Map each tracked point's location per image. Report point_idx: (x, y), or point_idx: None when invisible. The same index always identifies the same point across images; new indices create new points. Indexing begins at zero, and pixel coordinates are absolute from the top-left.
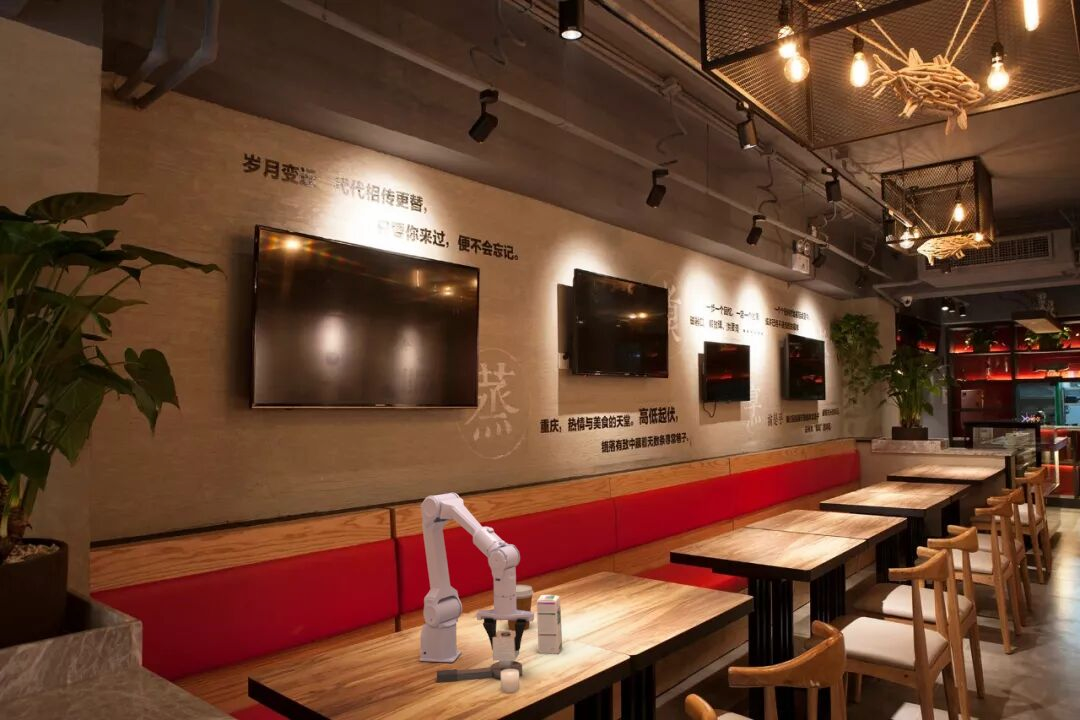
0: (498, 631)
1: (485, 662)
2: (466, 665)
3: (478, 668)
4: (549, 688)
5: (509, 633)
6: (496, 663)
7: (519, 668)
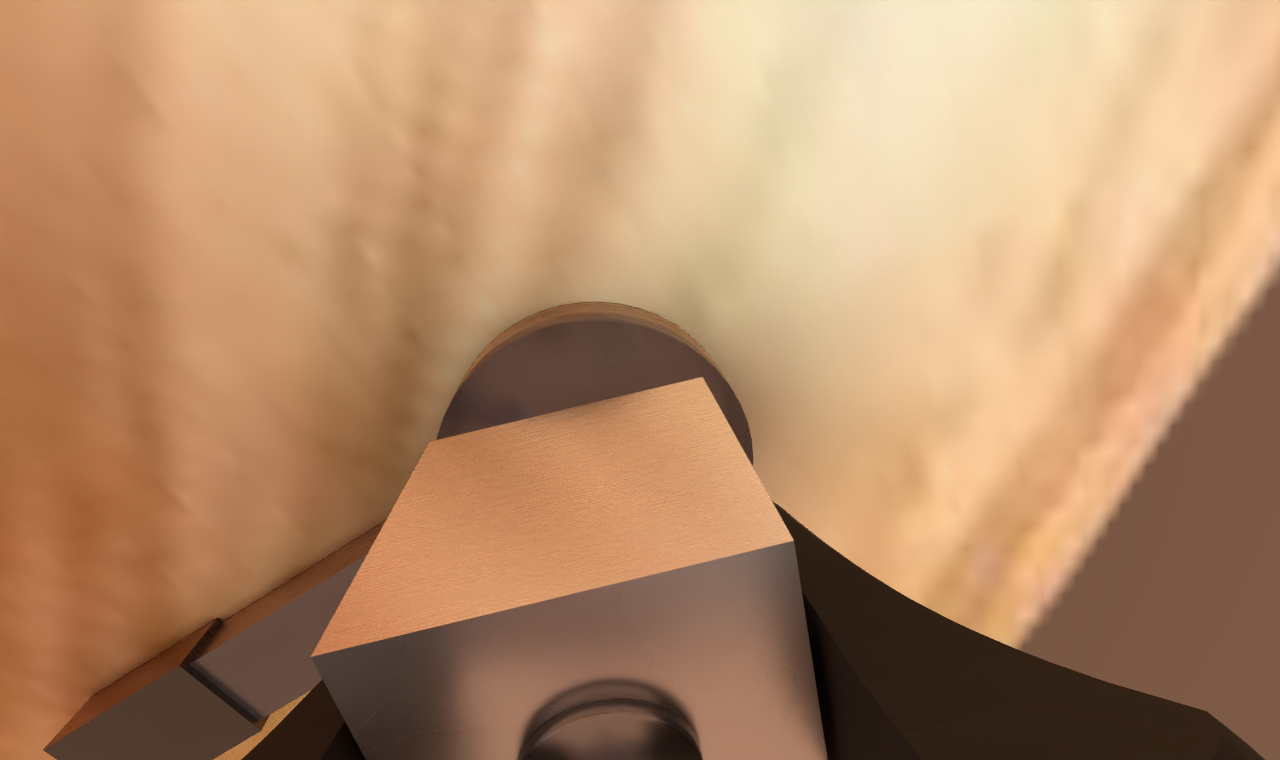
0: (370, 700)
1: (208, 224)
2: (85, 372)
3: (349, 566)
4: (1013, 554)
5: None
6: None
7: None
